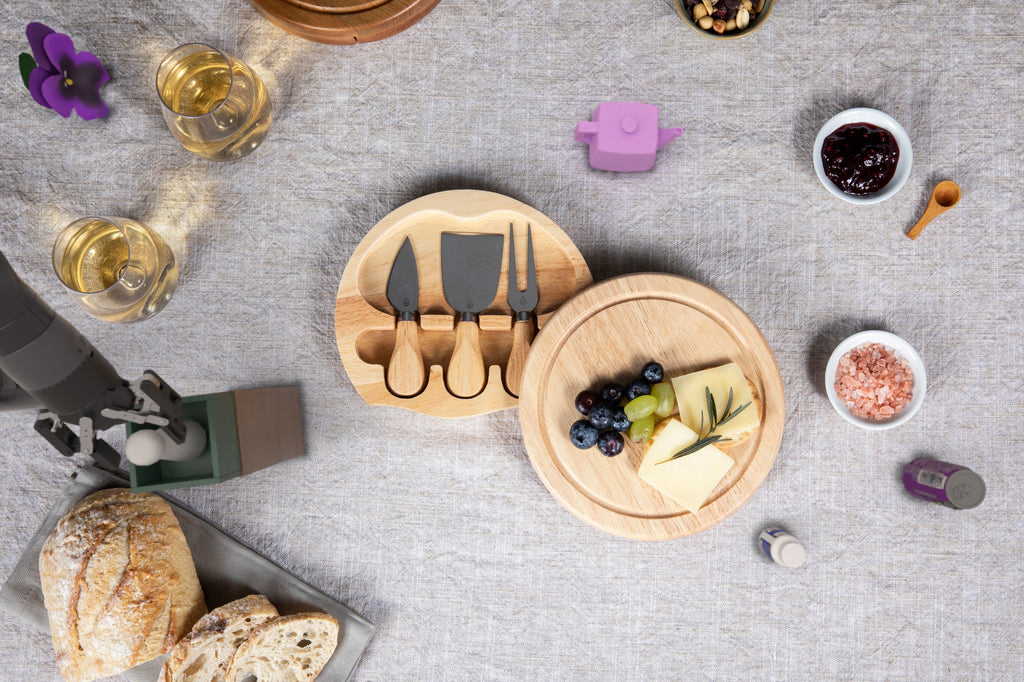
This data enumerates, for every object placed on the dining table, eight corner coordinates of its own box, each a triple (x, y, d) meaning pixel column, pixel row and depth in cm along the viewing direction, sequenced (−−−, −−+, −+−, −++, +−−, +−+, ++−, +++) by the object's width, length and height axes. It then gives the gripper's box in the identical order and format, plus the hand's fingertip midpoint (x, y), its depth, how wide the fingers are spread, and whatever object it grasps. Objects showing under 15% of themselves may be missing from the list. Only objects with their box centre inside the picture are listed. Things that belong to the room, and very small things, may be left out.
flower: (74, 142, 126) (115, 131, 120) (-19, 115, 113) (22, 101, 107) (77, 67, 127) (119, 52, 121) (-15, 32, 114) (26, 12, 107)
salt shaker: (208, 463, 92) (156, 478, 79) (168, 454, 92) (109, 468, 79) (217, 421, 92) (167, 429, 79) (177, 413, 92) (121, 419, 79)
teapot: (674, 118, 120) (688, 95, 109) (671, 176, 119) (685, 158, 109) (574, 114, 120) (579, 90, 110) (571, 171, 120) (575, 152, 109)
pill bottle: (778, 562, 116) (799, 578, 107) (752, 546, 116) (771, 561, 107) (793, 536, 116) (816, 550, 107) (768, 520, 116) (788, 533, 107)
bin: (159, 485, 92) (131, 494, 86) (151, 402, 93) (123, 404, 86) (242, 475, 92) (220, 483, 85) (233, 391, 93) (211, 393, 86)
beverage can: (912, 505, 116) (957, 520, 104) (892, 468, 116) (935, 479, 104) (948, 486, 116) (997, 499, 104) (928, 449, 116) (975, 458, 104)
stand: (238, 461, 118) (158, 486, 92) (231, 394, 119) (149, 400, 93) (304, 453, 118) (243, 476, 92) (297, 386, 119) (234, 390, 93)
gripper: (-23, 410, 67) (88, 496, 78) (109, 360, 67) (202, 453, 78) (2, 362, 73) (102, 448, 84) (124, 316, 73) (208, 408, 84)
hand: (150, 451), depth 81 cm, fingers open, 8 cm apart
